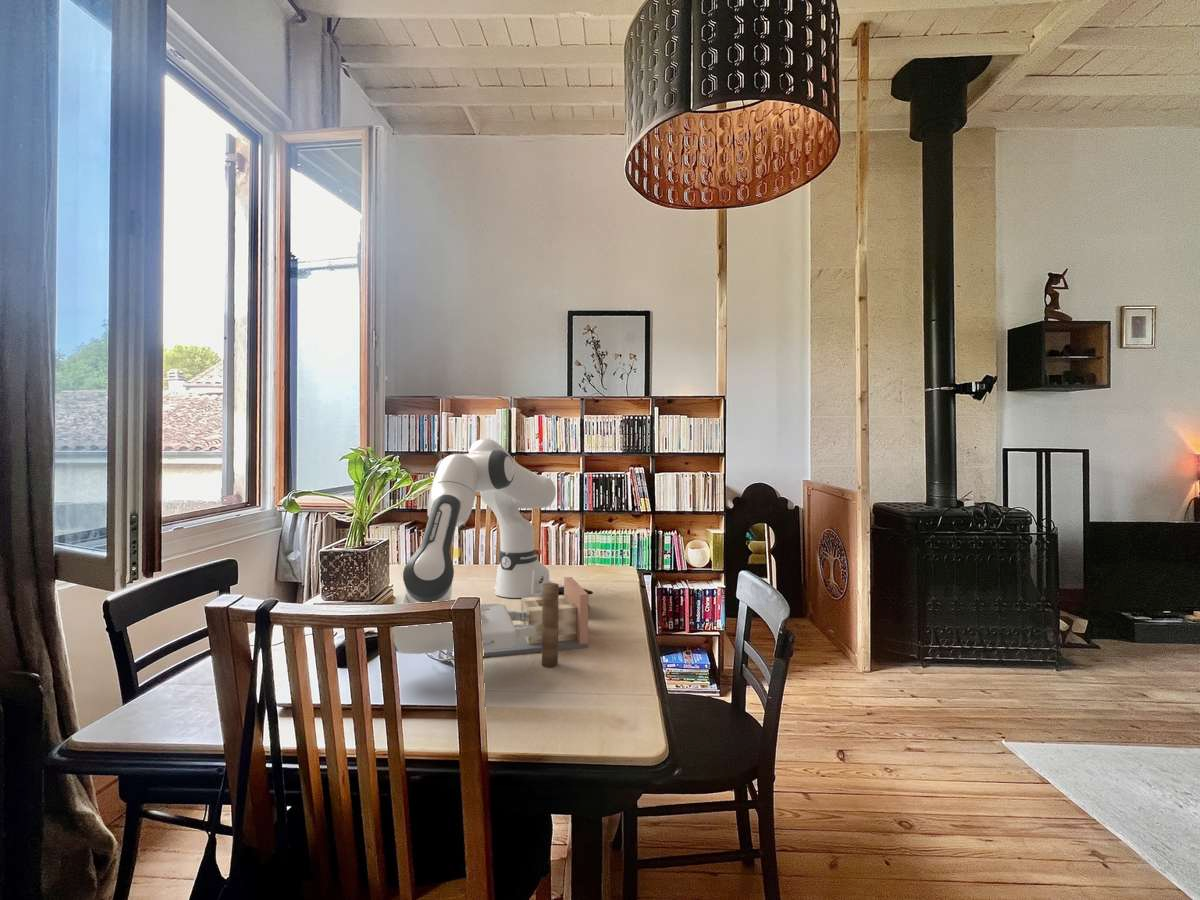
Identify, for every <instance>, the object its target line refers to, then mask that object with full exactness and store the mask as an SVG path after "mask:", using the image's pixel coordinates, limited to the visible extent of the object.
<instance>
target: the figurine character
mask: <svg viewBox="0 0 1200 900" xmlns="http://www.w3.org/2000/svg"><path fill="white" fill-rule="evenodd" d="M583 589H584V590H585V591H586V592H587V593H588V596H589V595H593V594H594V593H593V591H592V590H588V589H586V588H583ZM559 595H564V586H562V587H559ZM589 612H590V604H589V603H588V613H589Z"/></svg>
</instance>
